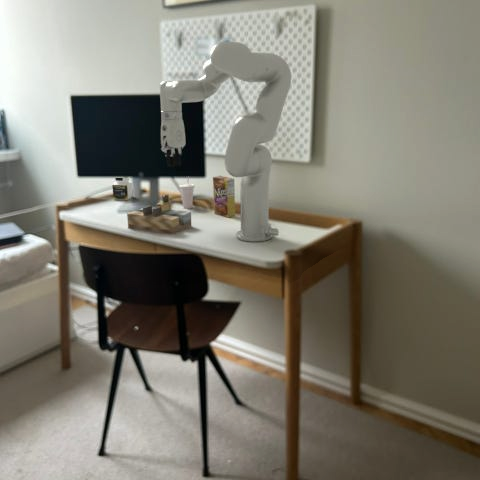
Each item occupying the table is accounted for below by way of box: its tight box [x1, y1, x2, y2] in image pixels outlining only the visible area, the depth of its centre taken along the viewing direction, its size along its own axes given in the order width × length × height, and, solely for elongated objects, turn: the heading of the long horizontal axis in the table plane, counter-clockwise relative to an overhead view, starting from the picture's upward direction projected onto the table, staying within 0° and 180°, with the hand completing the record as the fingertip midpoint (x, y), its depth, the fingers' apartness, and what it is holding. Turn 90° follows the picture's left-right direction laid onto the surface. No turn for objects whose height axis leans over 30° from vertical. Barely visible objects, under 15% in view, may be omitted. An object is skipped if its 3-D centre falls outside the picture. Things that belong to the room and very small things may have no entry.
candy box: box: [212, 175, 236, 218], centre depth 206 cm, size 9×4×15 cm, turn 41°
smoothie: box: [178, 177, 195, 210], centre depth 218 cm, size 6×6×14 cm
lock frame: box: [126, 204, 192, 235], centre depth 190 cm, size 20×12×8 cm, turn 63°
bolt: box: [155, 194, 172, 212], centre depth 192 cm, size 2×6×5 cm, turn 153°
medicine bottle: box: [111, 177, 133, 201], centre depth 237 cm, size 7×7×12 cm
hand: (173, 165), depth 195 cm, fingers open, 3 cm apart
